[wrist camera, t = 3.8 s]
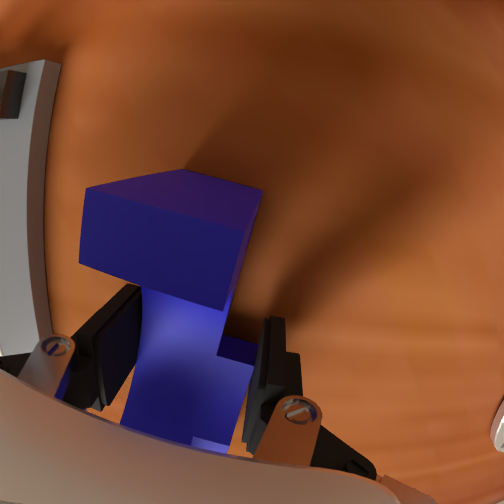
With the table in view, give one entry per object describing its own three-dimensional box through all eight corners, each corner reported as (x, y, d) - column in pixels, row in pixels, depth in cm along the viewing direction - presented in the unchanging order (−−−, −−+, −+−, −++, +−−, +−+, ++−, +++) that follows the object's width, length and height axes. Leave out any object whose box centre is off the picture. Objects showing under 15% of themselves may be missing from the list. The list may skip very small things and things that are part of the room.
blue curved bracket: (226, 429, 14) (206, 526, 9) (144, 404, 14) (101, 491, 9) (305, 203, 11) (333, 258, 5) (182, 169, 11) (85, 187, 5)
